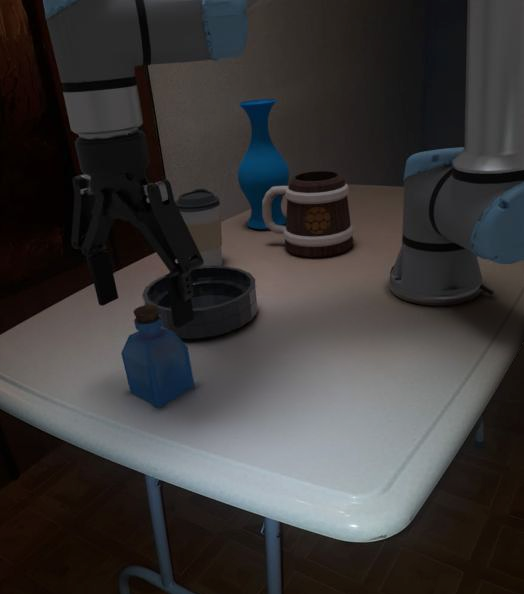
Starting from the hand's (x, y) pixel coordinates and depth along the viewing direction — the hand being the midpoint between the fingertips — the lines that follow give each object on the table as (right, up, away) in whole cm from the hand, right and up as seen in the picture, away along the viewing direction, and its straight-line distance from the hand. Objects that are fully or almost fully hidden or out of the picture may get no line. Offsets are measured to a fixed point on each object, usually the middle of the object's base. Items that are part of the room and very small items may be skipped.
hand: (144, 311), depth 70 cm
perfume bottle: (+1, -10, +6) cm, 12 cm away
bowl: (+5, +1, +25) cm, 25 cm away
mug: (+25, +18, +51) cm, 60 cm away
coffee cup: (+3, +13, +47) cm, 48 cm away
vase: (+16, +26, +68) cm, 75 cm away
